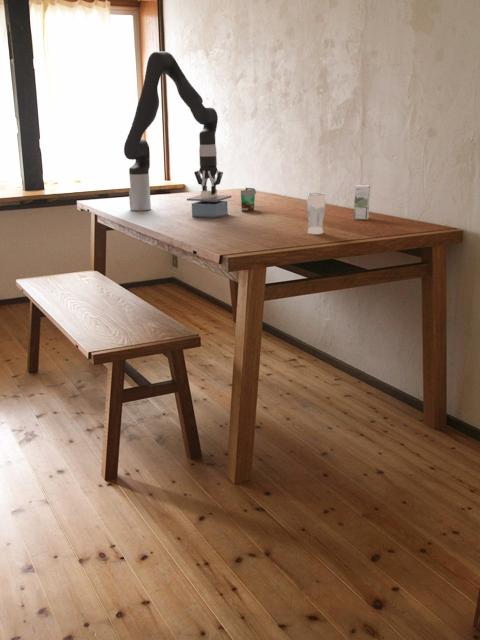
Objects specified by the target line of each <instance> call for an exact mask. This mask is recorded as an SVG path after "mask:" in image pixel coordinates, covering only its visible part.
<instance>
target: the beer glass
mask: <svg viewBox="0 0 480 640" xmlns="http://www.w3.org/2000/svg"><path fill="white" fill-rule="evenodd" d="M306 197H307V198H306V213H307V214H306V215H307V219H308V227H307V235H311V236H312V235H313V236H317V235H323V234H324V228H323V227H324V226H323V224H324V223H323V222H324V217H325V212H326V193H323V192H309V193H307V196H306Z"/></svg>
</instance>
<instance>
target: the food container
mask: <svg viewBox="0 0 480 640" xmlns="http://www.w3.org/2000/svg"><path fill="white" fill-rule="evenodd" d="M256 194H257V191H256V189H255V188H254V187H245V189H243V190H240V199H241V201H240V202H241V203H240V204H241V212H242V213H247V212H254V211H255V198H256V197H255V196H256Z"/></svg>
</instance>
